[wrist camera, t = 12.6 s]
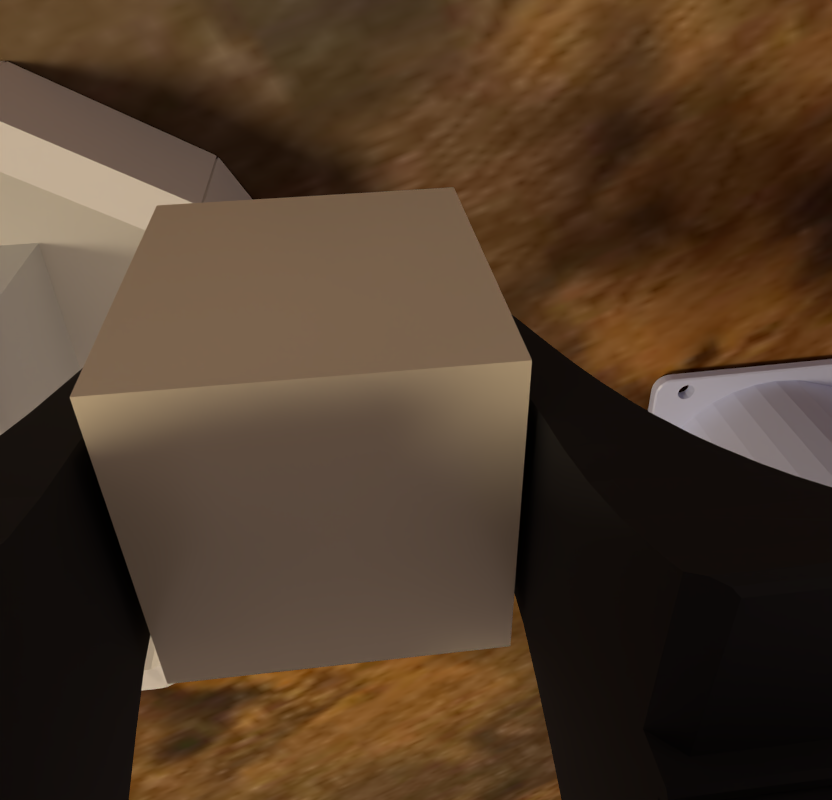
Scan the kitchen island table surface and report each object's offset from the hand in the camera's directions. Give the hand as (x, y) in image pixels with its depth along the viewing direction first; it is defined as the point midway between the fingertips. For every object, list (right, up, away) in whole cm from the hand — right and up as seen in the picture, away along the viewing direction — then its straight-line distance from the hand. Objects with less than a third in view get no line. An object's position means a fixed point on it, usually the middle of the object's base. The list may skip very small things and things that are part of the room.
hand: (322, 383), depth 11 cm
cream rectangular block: (0, +1, +1) cm, 2 cm away
